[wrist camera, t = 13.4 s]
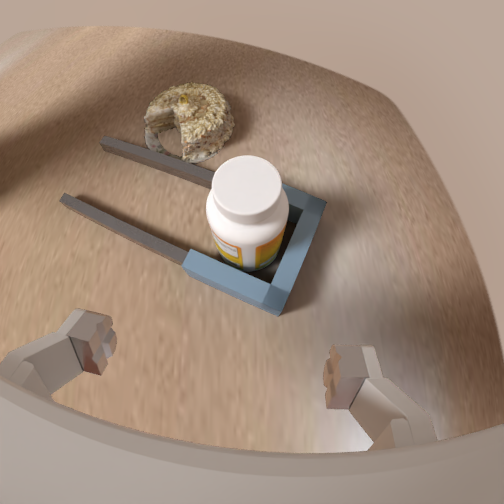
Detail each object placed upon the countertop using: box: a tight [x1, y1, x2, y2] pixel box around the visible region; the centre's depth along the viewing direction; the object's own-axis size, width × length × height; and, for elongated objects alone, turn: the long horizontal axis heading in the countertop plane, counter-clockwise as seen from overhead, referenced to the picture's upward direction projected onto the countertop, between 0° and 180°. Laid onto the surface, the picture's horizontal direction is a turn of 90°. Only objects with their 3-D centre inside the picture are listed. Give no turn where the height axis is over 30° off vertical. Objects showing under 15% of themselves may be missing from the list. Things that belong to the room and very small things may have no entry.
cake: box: [144, 81, 235, 164], centre depth 28 cm, size 10×10×5 cm
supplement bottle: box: [206, 155, 289, 272], centre depth 21 cm, size 5×5×10 cm
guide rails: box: [60, 136, 215, 266], centre depth 27 cm, size 16×8×2 cm, turn 66°
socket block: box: [182, 183, 327, 316], centre depth 24 cm, size 8×10×3 cm
